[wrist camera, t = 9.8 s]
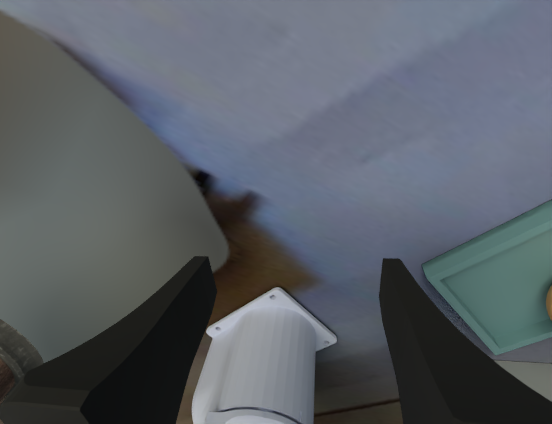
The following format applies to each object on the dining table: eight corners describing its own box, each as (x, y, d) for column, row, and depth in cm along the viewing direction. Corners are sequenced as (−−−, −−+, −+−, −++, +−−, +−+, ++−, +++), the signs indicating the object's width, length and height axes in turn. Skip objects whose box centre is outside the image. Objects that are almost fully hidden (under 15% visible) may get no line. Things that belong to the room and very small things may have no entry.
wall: (600, 357, 27) (633, 401, 24) (585, 379, 28) (615, 422, 26) (395, 347, 29) (403, 385, 26) (392, 367, 31) (399, 405, 28)
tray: (487, 339, 27) (495, 355, 26) (421, 264, 24) (426, 278, 23) (635, 286, 23) (653, 303, 22) (578, 186, 20) (596, 198, 18)
